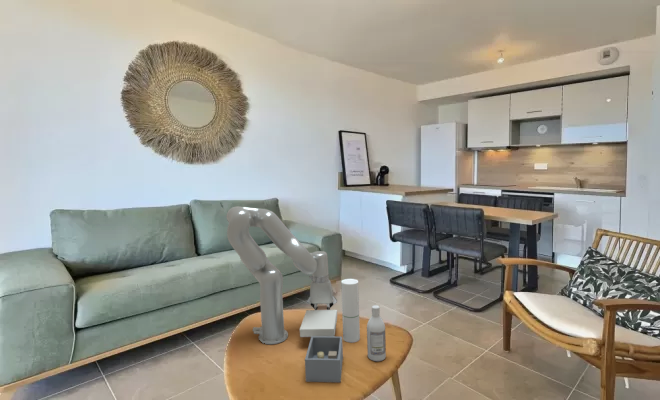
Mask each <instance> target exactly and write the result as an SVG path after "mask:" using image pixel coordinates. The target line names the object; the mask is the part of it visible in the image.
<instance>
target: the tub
mask: <svg viewBox="0 0 660 400" xmlns="http://www.w3.org/2000/svg"><path fill="white" fill-rule="evenodd" d="M343 347H344V345H343V336H311V337H310V340H309V344H308V348H307V351H306V354H305V358H304V369H305V371H304V372H305V383H306V382H307V383H308V382H309V383H341V382H342V371H343V361H344V353H343V352H344V350H343V349H344V348H343Z"/></svg>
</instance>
